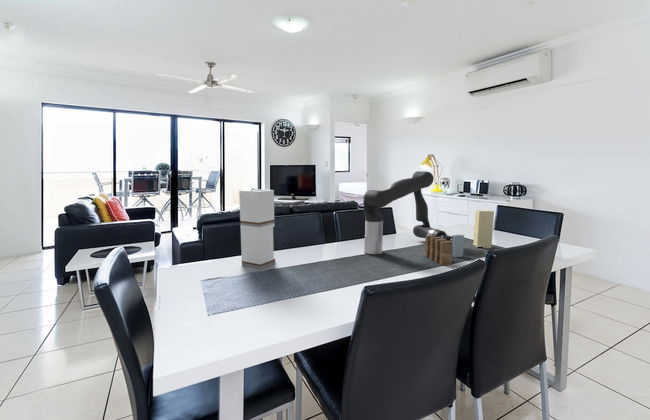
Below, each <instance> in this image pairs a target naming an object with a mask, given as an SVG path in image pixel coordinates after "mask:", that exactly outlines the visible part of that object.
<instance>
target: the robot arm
mask: <svg viewBox="0 0 650 420" xmlns="http://www.w3.org/2000/svg"><path fill="white" fill-rule="evenodd" d="M434 181H435V180H434V175H433V173H432V172H430V171H424V170H423V171H419V170H417V171H415V172H414V173H413V174H412V177H410V178H409V177H407V178H402V179H400V180H398V181H395V182H393V183H392V184H391V186H390V188H388V189H384V190H376V189H375V190H373V189H369V190H366V191H365V192H364V196H363V215H364V218H365V221H364V222H365V223H364V225H365V227H364V229H365V230H364V250H363V251H364V254H368V255H381V254H383V240H384V239H383V238H384V237H383V234H384V233H383V232H384V231H383V230H384V229H383V228H384V226H383V225H384V216H383V215H382V214H381V213H380V212H379V211H378V209H383V208H384V207H386V206H388V205H389V204H390V203H393V202H394V201H397V200H399V199H402V198H405V197H406V196H408V195H410V194H412V193H413V196H414V201H415V220H416V221H417V222H422V224H418V225H415V226H414V227H413V229H412V233H413V234H414V236H415V237H417V238H421V239H426V236H428V235H436V236H437V237H441V238H442V239H446V240H447V241H452V242H453V235H449V234H447V233H446V232H445V231H444V230H440V229H438V228H434V227H431V225H430V221H429V207H428V204H427V202H426V199H425V197H424V195H423V192H422V189H425V188H429V187H430V186H432V184H433V182H434Z"/></svg>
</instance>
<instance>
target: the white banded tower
mask: <svg viewBox="0 0 650 420" xmlns="http://www.w3.org/2000/svg"><path fill="white" fill-rule="evenodd" d="M238 191H239V192H238V194H239V195H238V196H239V221H240V226H239V227H240V249H241V255H240V256H241V266H243V265H245V267H248V266H250V267H249V268H253V267H255V268H254V269H258V268H259V270H261V268H262V269H264V268H266V266H267V267H268V266H271V264H272V265H274V264H276V258H274V255H275V254H274V252H275V251H274V228H275V227H276V226H275V193H274V192H275V189H260V188H259V189H257V188H254V189H253V190H238Z"/></svg>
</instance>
